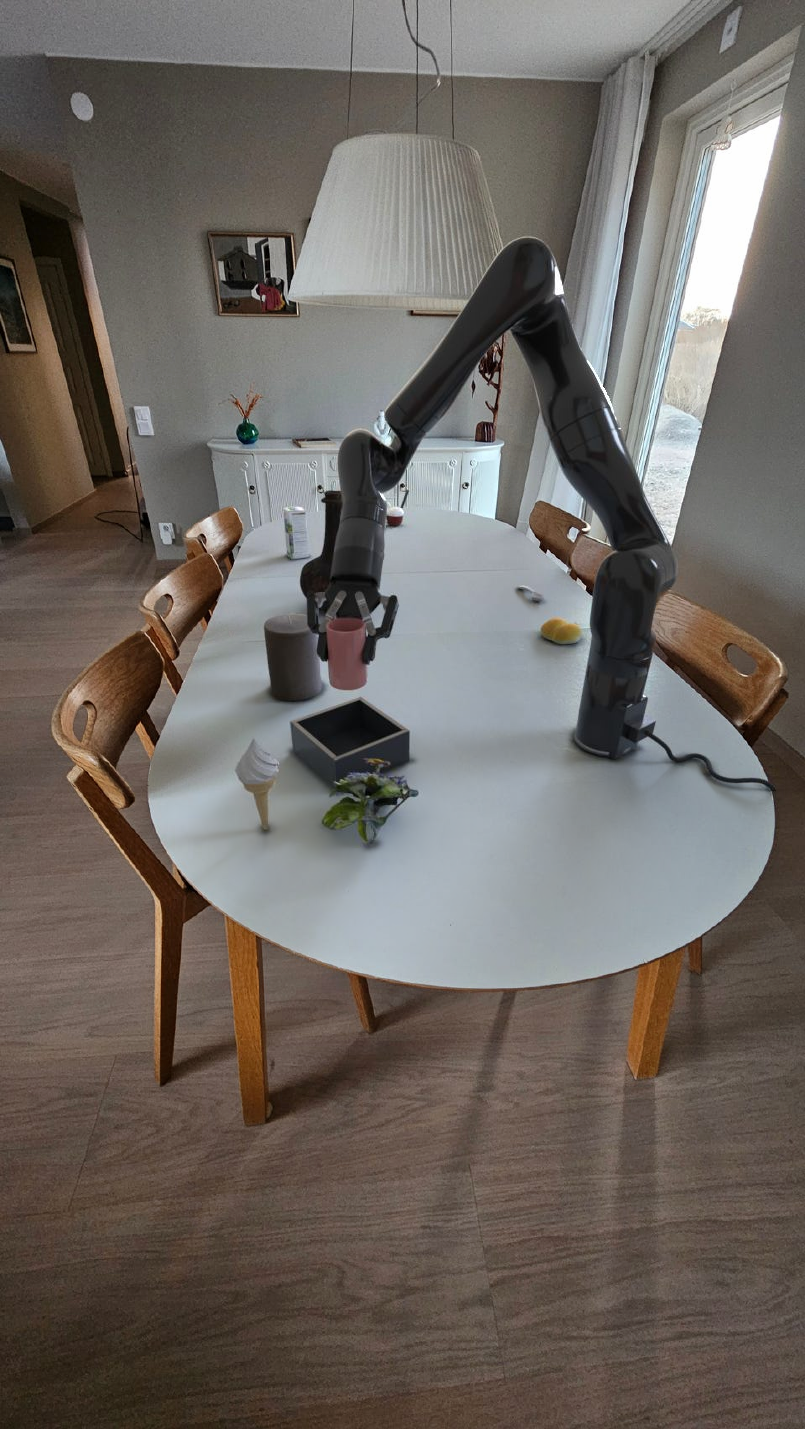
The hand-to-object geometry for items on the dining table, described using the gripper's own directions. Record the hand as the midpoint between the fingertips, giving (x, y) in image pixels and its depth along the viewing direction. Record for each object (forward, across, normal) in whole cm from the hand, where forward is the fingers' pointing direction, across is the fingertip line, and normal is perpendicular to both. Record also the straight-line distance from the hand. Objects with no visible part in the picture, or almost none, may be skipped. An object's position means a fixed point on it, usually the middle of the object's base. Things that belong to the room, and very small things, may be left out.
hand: (344, 661), depth 90 cm
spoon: (-45, +32, +70) cm, 89 cm away
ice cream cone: (+25, -8, 0) cm, 26 cm away
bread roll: (-26, +37, +51) cm, 68 cm away
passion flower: (+23, +6, +2) cm, 24 cm away
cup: (+2, 0, +4) cm, 5 cm away
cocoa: (-93, -14, +119) cm, 152 cm away
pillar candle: (-3, -15, +28) cm, 32 cm away
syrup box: (-62, -39, +88) cm, 115 cm away
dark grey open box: (+12, 0, +13) cm, 18 cm away
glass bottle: (-34, -17, +60) cm, 71 cm away
